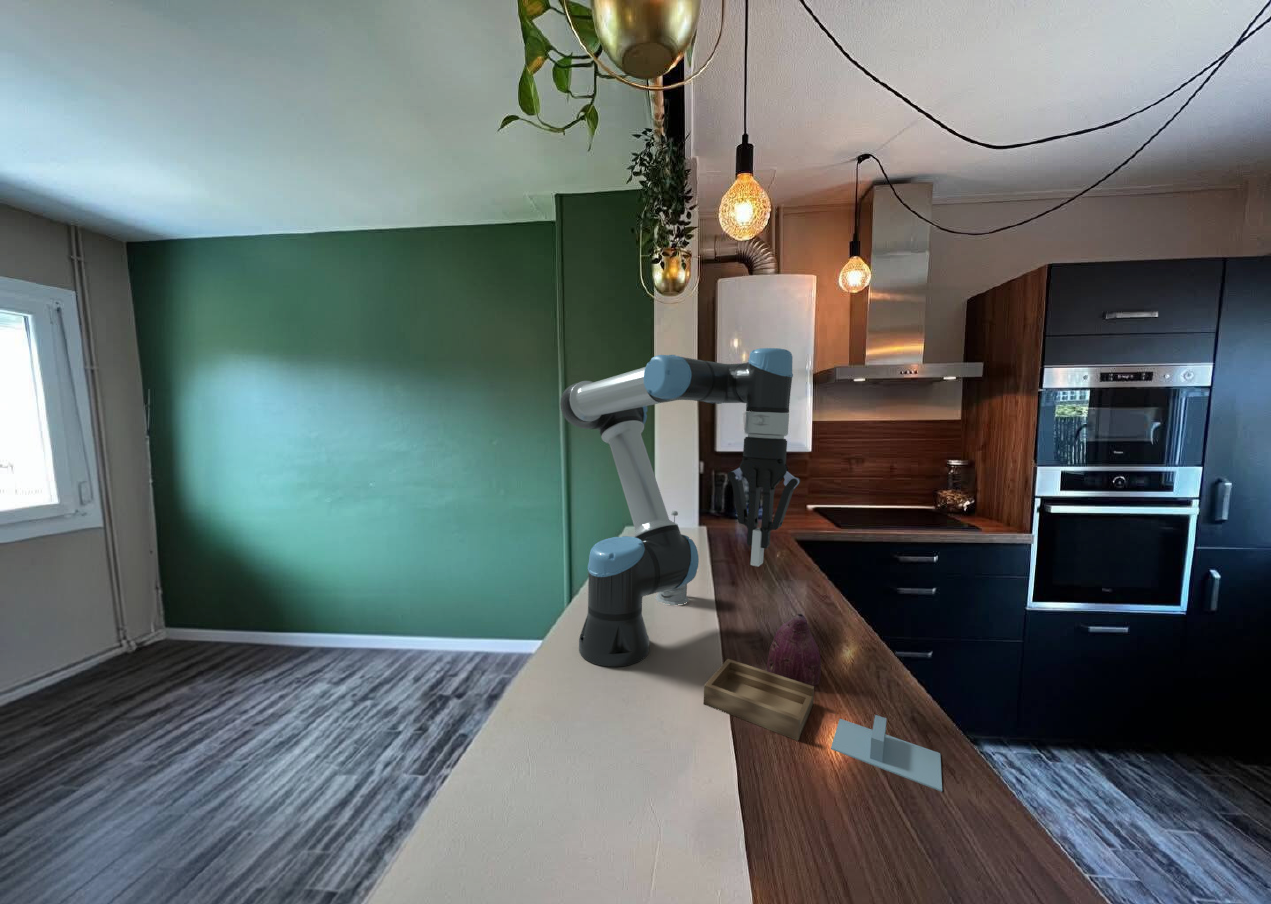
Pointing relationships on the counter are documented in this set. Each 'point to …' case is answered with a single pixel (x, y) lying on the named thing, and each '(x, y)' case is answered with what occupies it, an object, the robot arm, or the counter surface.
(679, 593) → the french press
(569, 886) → the counter surface
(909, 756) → the lid
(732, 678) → the pencil box
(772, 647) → the vegetable
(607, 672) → the counter surface
